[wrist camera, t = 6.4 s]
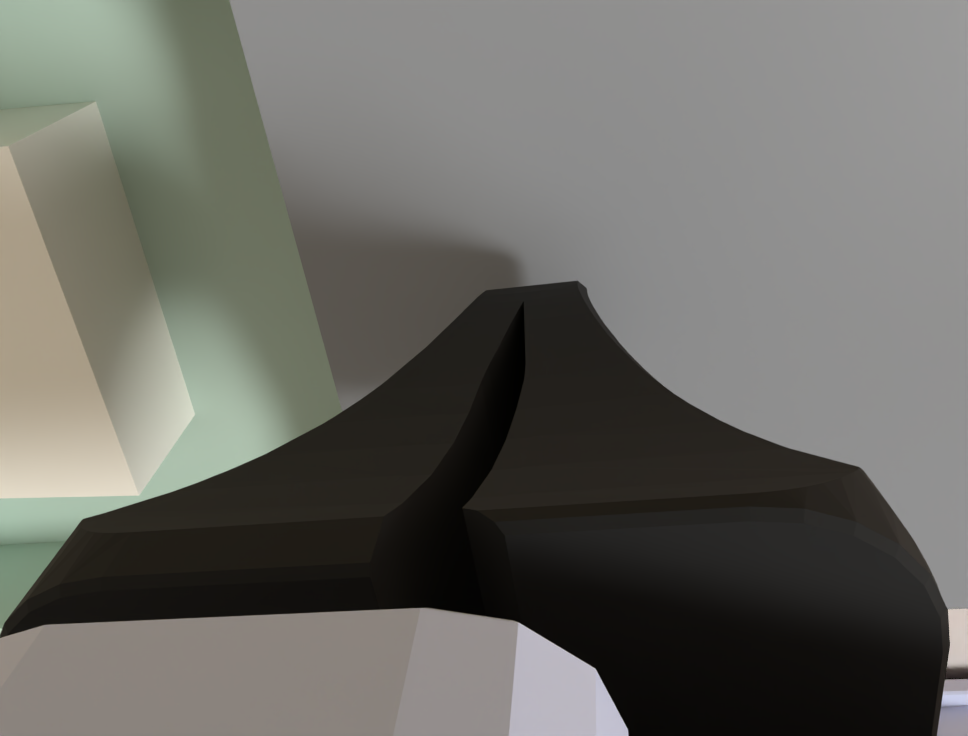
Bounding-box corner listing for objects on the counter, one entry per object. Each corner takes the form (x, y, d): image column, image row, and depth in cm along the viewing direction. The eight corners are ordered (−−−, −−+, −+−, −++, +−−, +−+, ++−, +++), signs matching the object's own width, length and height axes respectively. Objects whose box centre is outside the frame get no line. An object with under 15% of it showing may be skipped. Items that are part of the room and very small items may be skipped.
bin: (421, 535, 19) (395, 644, 16) (-23, 559, 20) (-110, 661, 18) (254, -156, 12) (168, -158, 10) (-367, -40, 14) (-579, -16, 12)
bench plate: (932, 492, 17) (995, 607, 14) (427, 520, 18) (401, 628, 16) (1028, -263, 11) (1164, -297, 8) (274, -127, 13) (196, -121, 10)
